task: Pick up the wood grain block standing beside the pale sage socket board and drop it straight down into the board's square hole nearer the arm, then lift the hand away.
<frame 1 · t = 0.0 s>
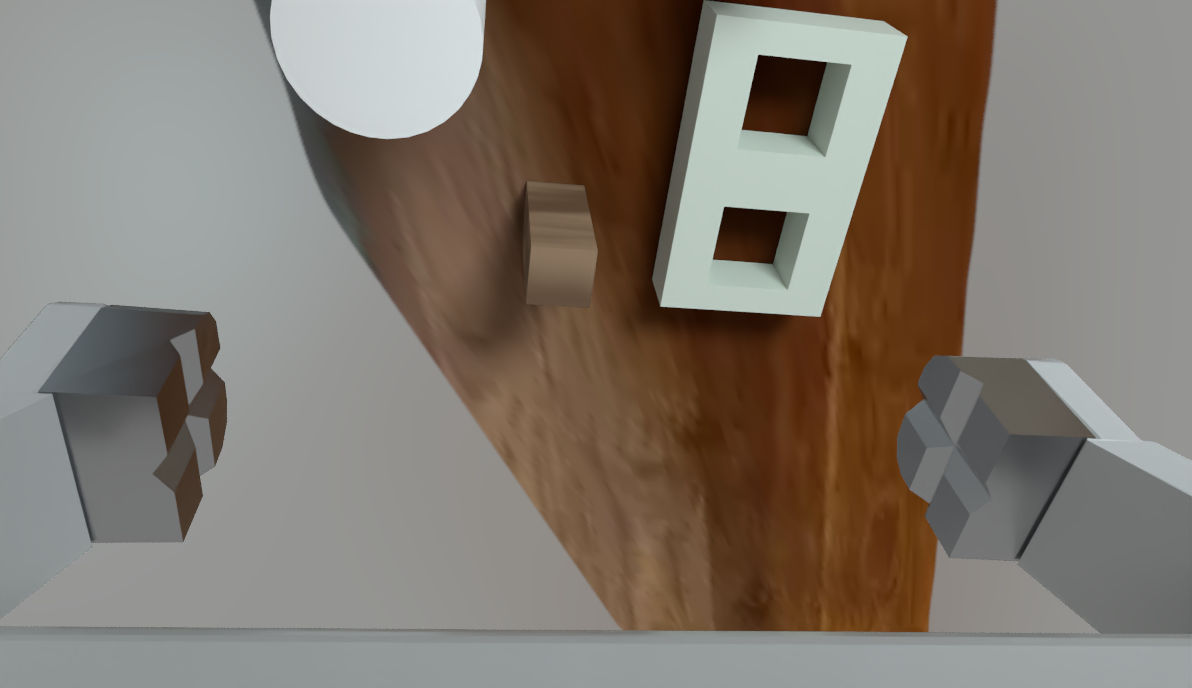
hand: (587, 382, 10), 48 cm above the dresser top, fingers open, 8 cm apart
wood grain block: (552, 209, 61), on the dresser top
socket board: (759, 159, 60), on the dresser top
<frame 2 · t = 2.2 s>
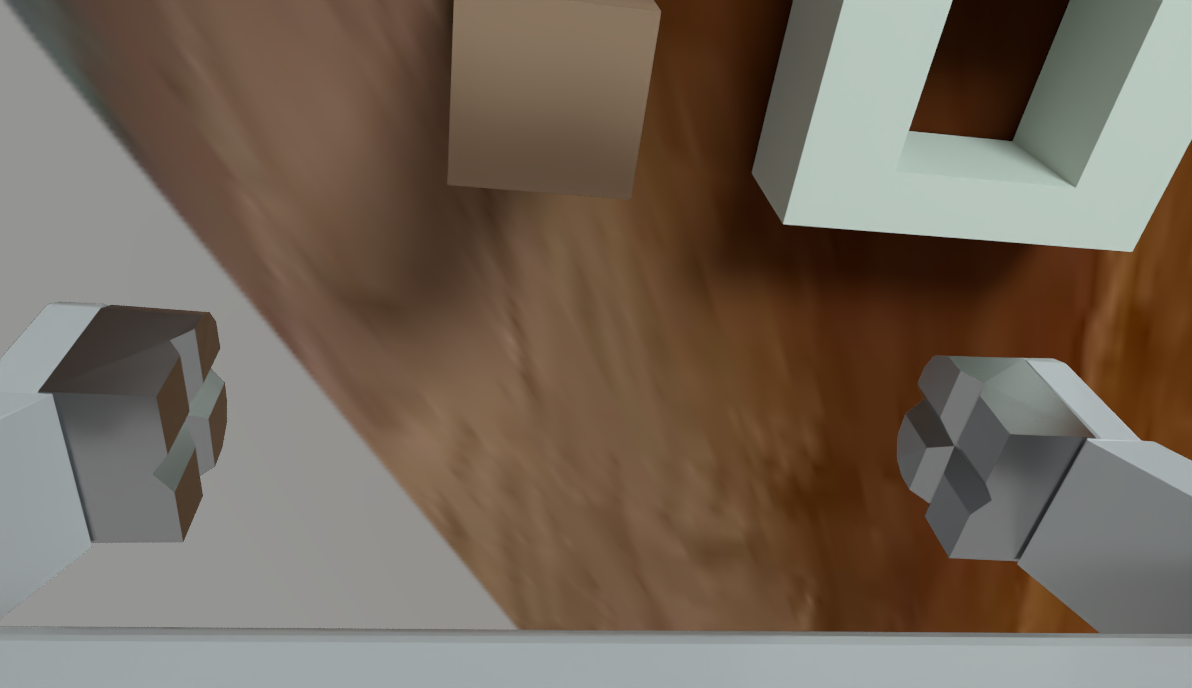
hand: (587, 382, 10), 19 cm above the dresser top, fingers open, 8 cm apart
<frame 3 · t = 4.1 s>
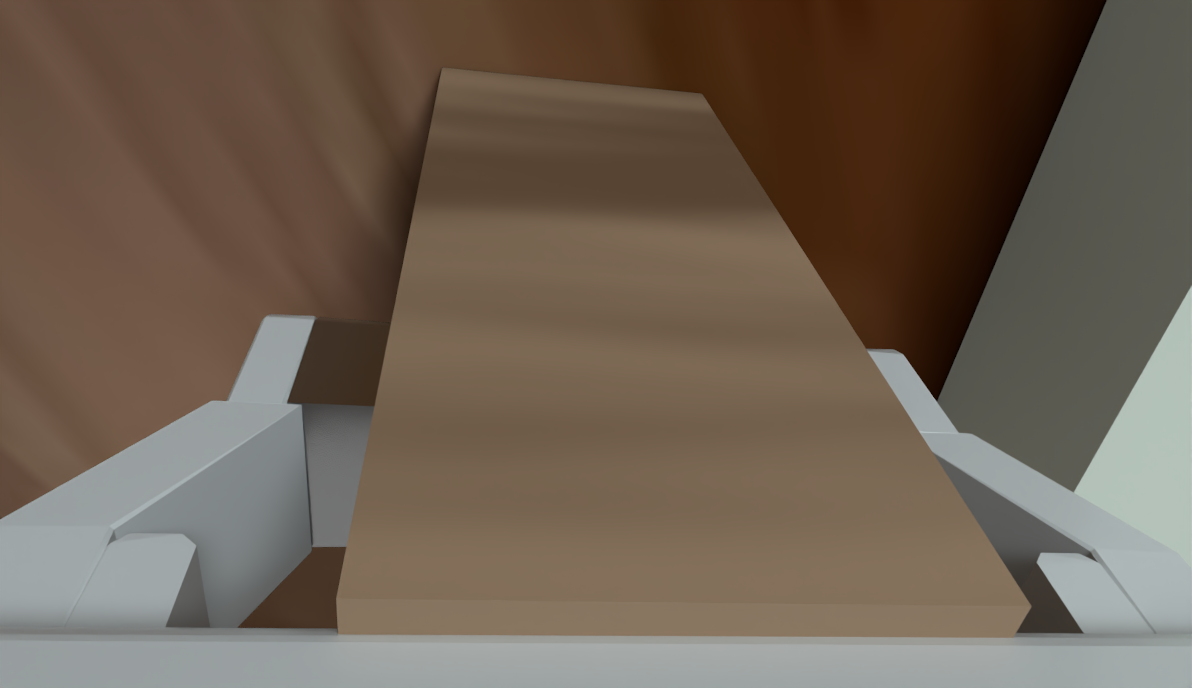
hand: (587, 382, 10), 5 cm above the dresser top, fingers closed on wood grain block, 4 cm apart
wood grain block: (561, 201, 14), on the dresser top, touching gripper
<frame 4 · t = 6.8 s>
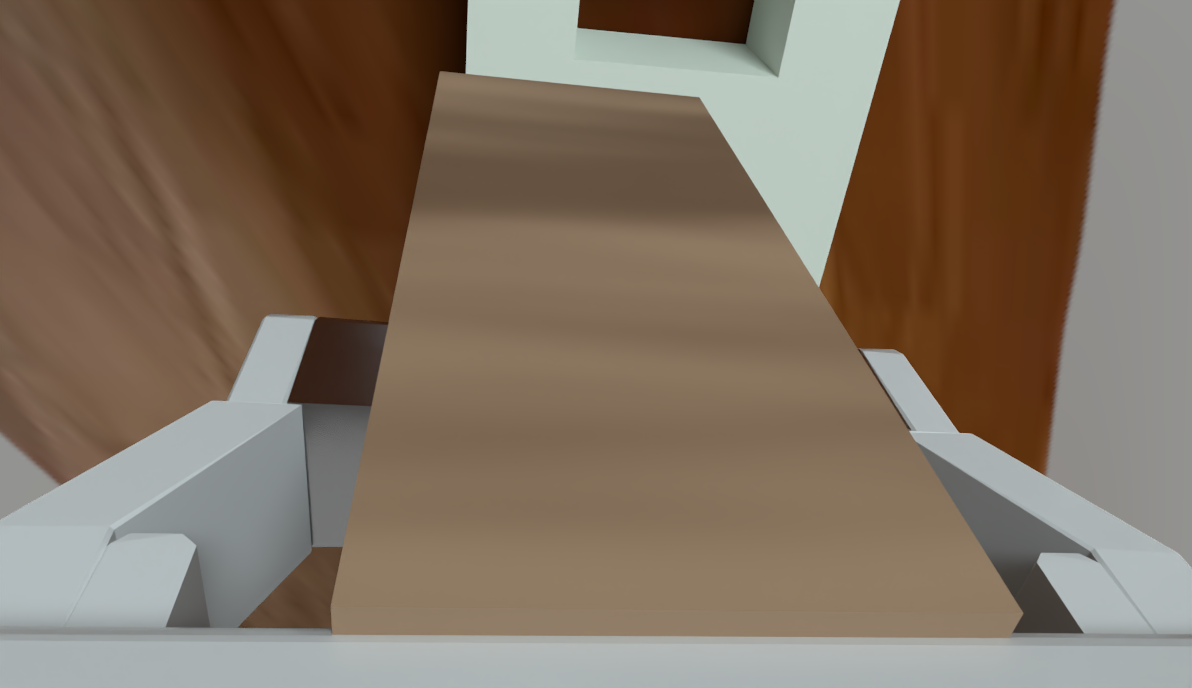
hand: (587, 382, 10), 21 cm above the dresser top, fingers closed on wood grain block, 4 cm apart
wood grain block: (559, 205, 14), point 15 cm above the dresser top, touching gripper
socket board: (647, 96, 29), on the dresser top
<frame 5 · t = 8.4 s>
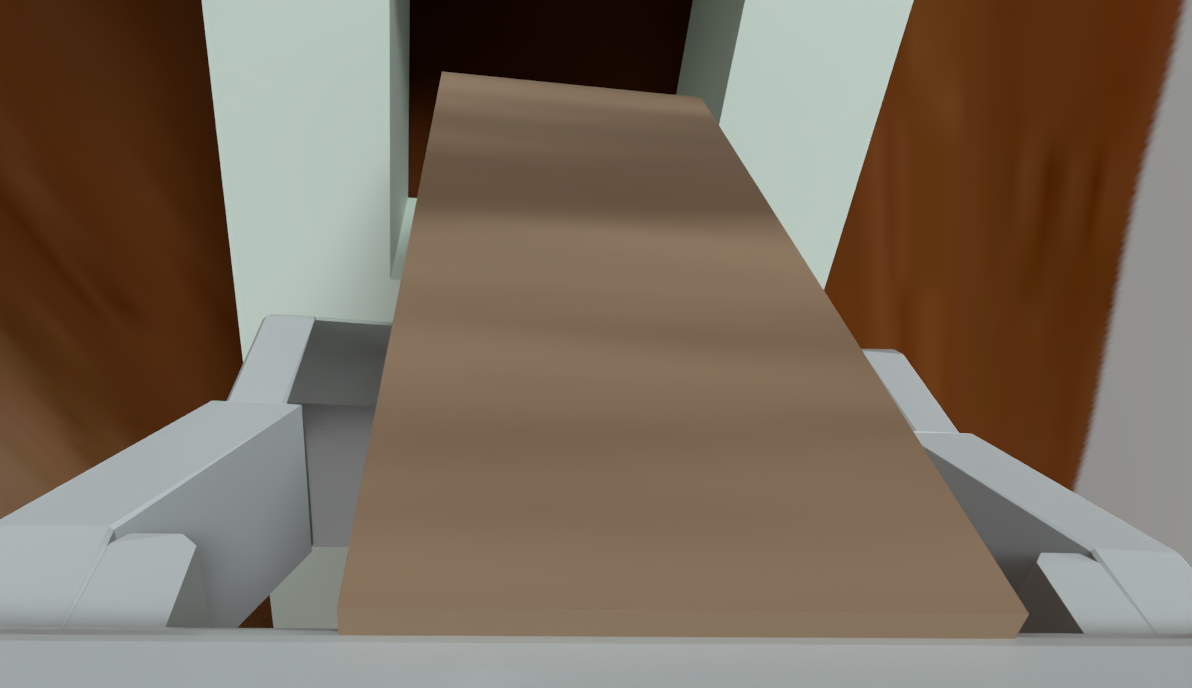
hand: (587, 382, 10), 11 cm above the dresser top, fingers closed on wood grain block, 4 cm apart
wood grain block: (560, 205, 14), point 6 cm above the dresser top, touching gripper
socket board: (526, 279, 22), on the dresser top
when the fingers open (7 cm above the dresser top, at t = 9.8 s): wood grain block drops 1 cm, resting in socket board.
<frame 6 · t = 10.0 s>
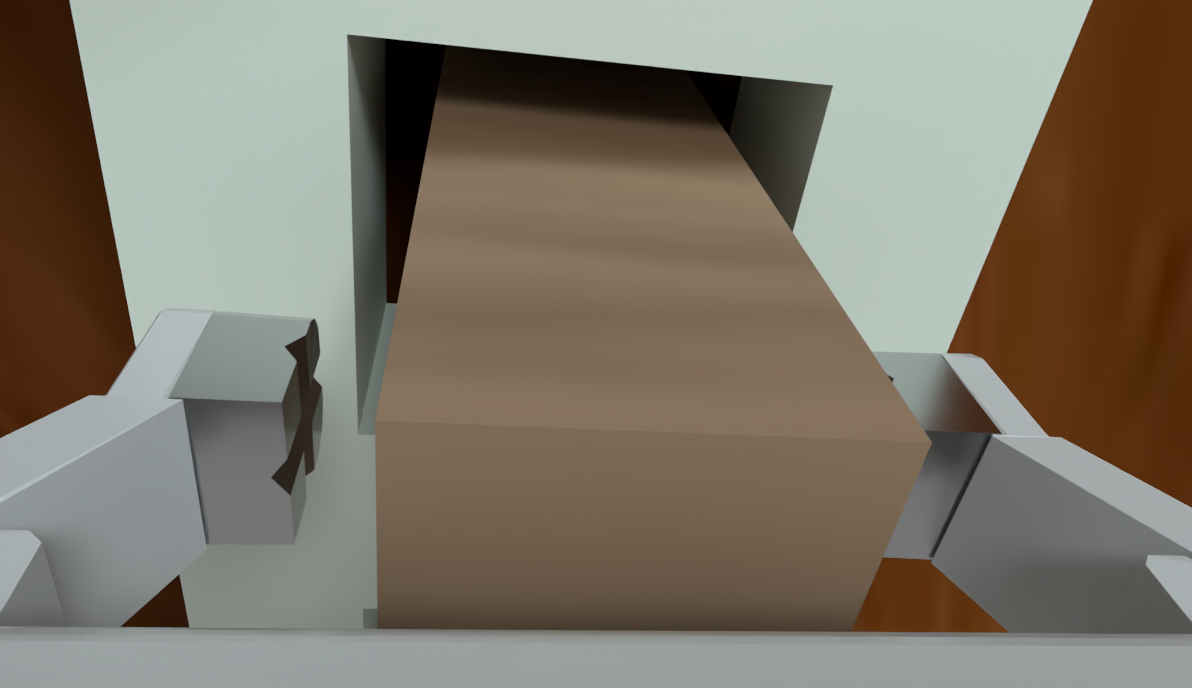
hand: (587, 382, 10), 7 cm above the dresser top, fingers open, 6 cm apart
wood grain block: (555, 169, 15), resting in socket board
socket board: (532, 393, 18), on the dresser top
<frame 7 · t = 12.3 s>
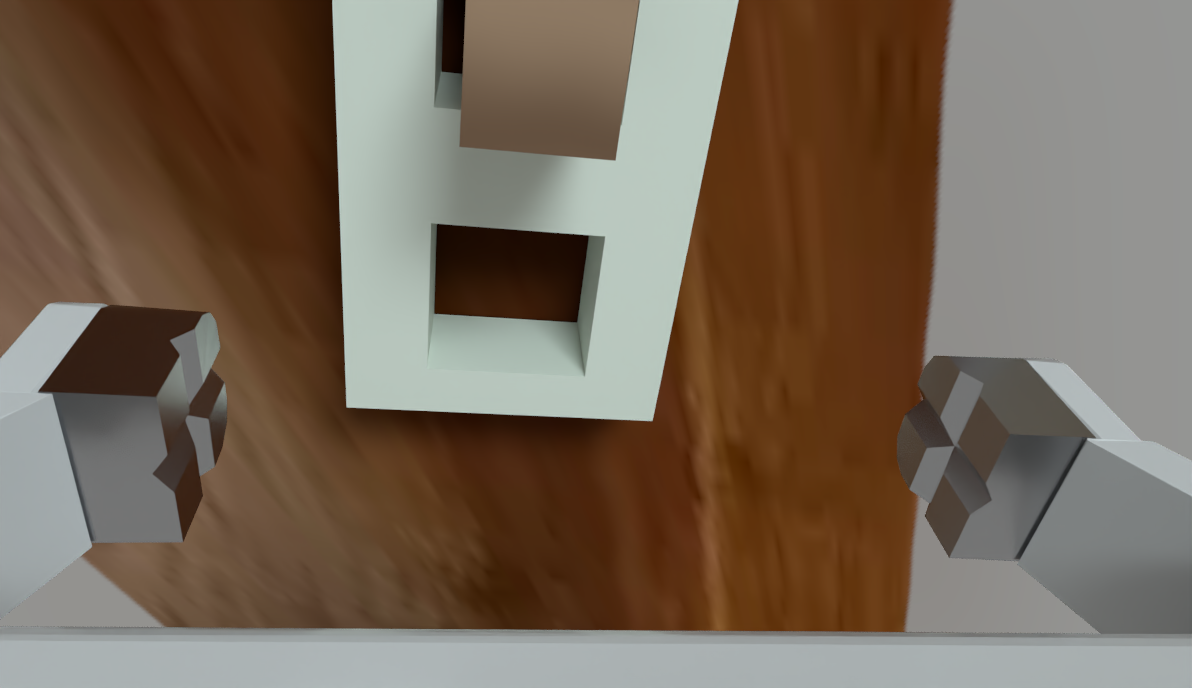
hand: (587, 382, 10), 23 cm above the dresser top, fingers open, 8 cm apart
socket board: (521, 134, 32), on the dresser top
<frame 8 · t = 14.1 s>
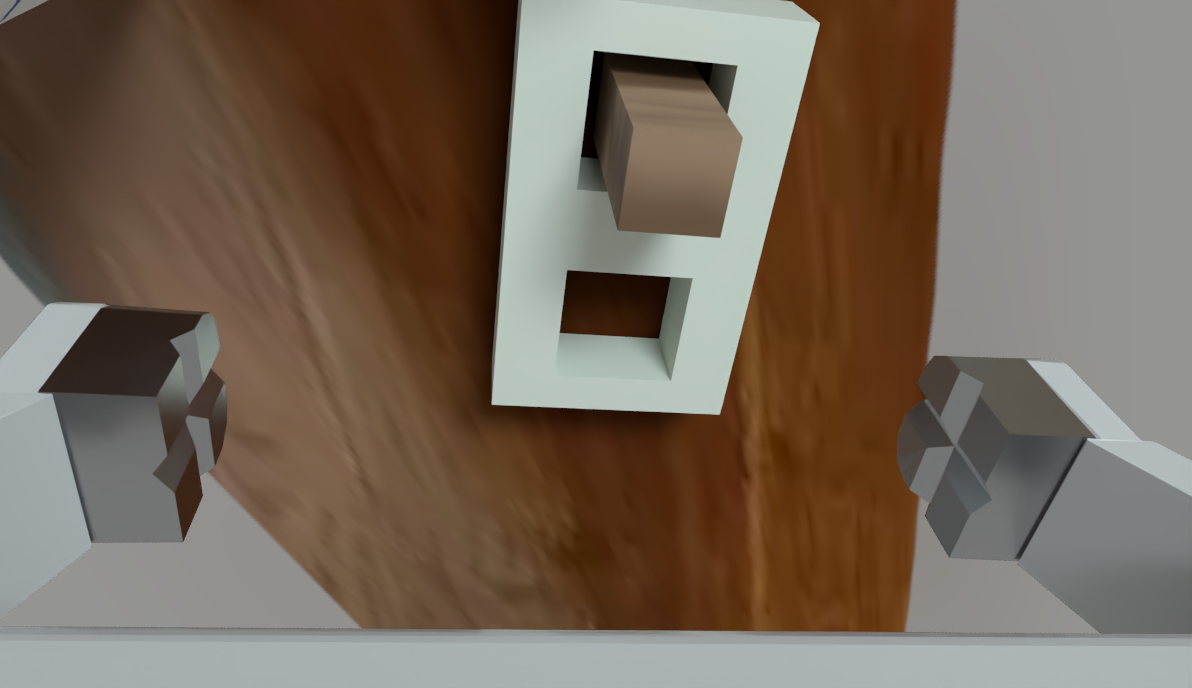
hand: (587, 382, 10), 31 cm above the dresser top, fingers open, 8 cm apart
wood grain block: (641, 100, 40), resting in socket board
socket board: (626, 199, 43), on the dresser top
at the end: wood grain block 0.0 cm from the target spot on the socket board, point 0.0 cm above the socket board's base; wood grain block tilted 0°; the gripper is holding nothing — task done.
